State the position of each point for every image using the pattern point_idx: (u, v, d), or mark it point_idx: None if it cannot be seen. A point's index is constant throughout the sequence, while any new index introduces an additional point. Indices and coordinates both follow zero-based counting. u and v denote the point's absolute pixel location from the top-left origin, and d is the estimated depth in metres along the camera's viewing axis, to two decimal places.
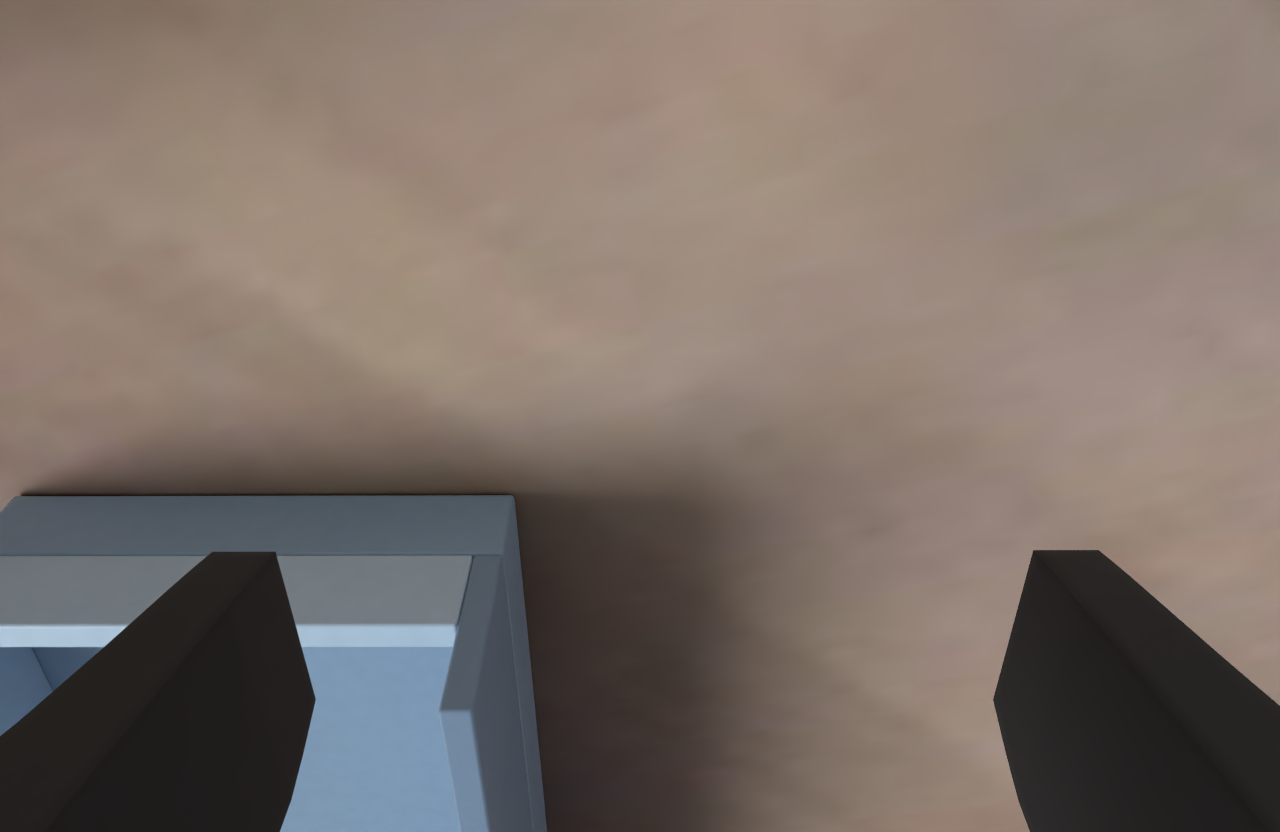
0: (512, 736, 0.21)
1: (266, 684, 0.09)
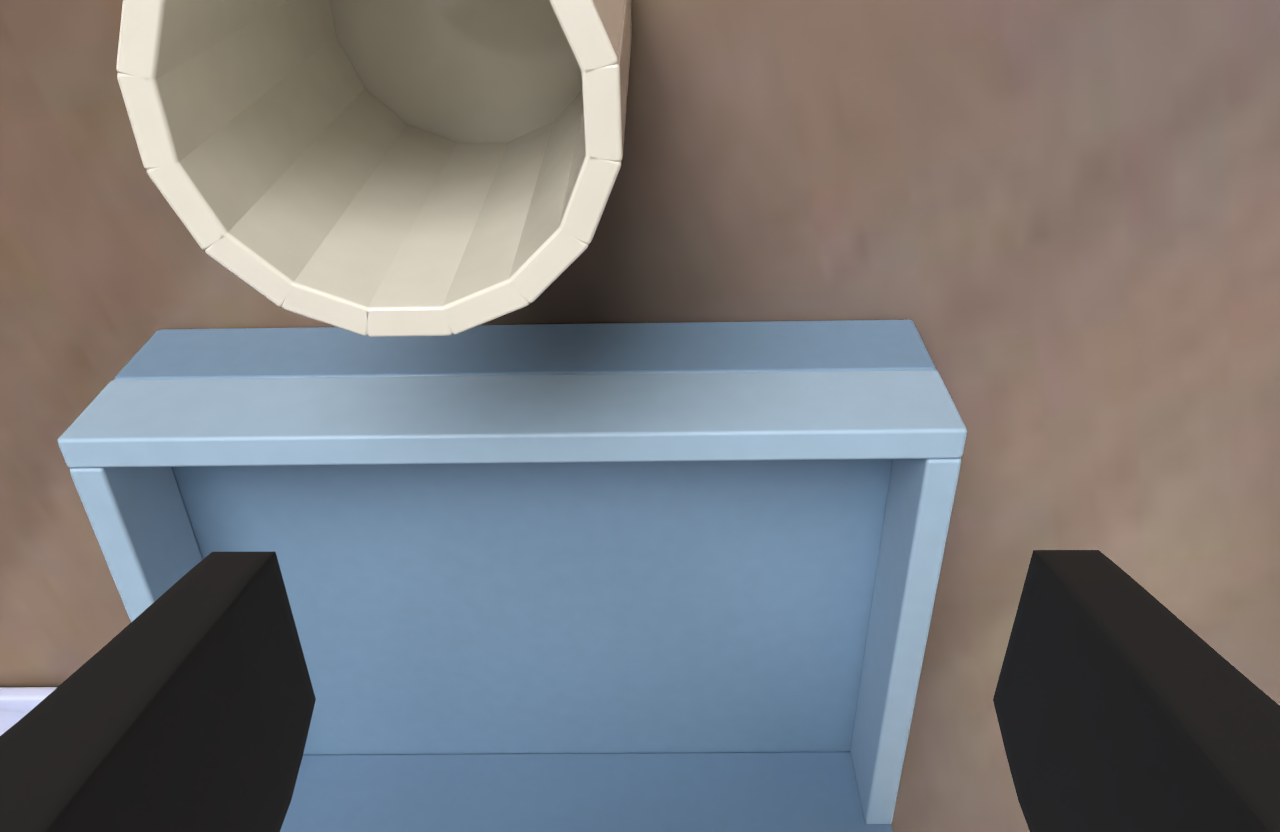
0: None
1: (266, 684, 0.09)
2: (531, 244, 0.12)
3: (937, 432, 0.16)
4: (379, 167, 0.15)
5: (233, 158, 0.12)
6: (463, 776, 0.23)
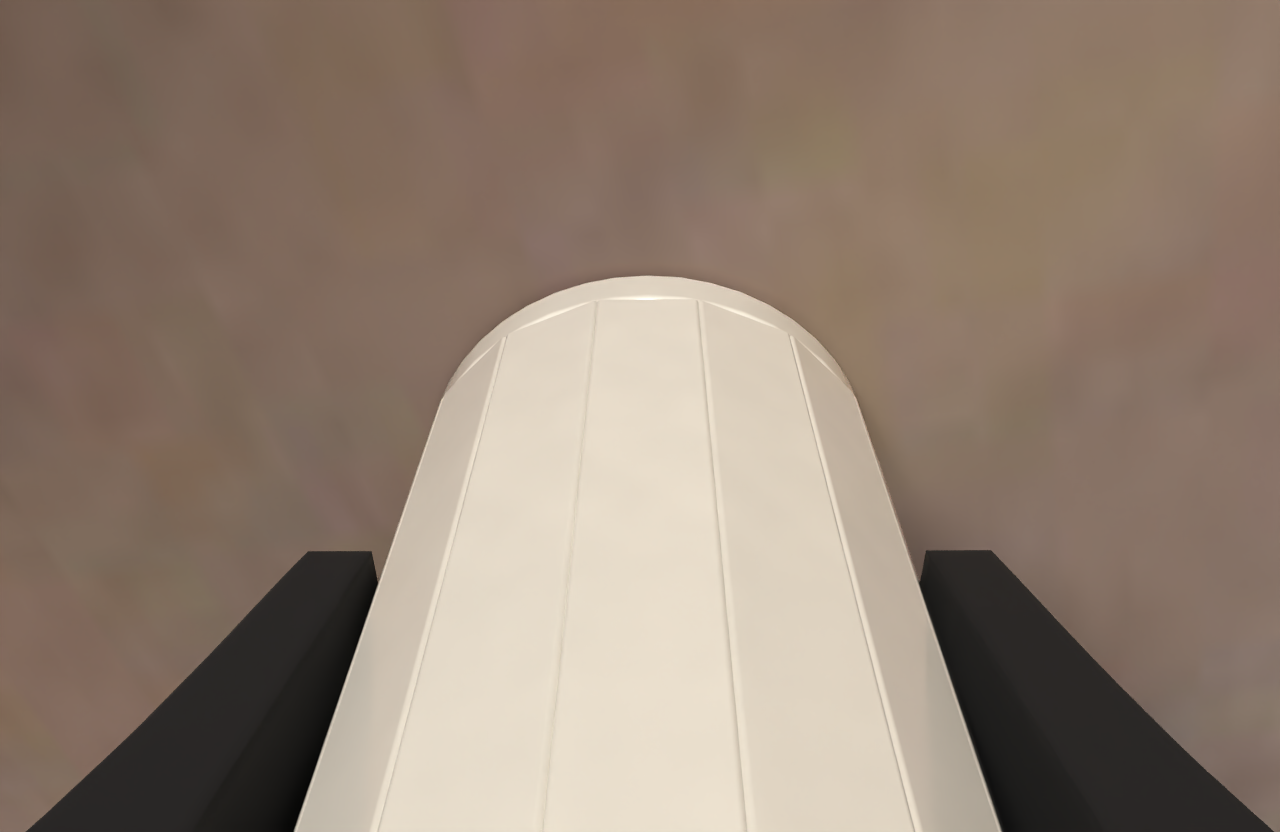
0: None
1: None
2: None
3: None
4: None
5: None
6: None
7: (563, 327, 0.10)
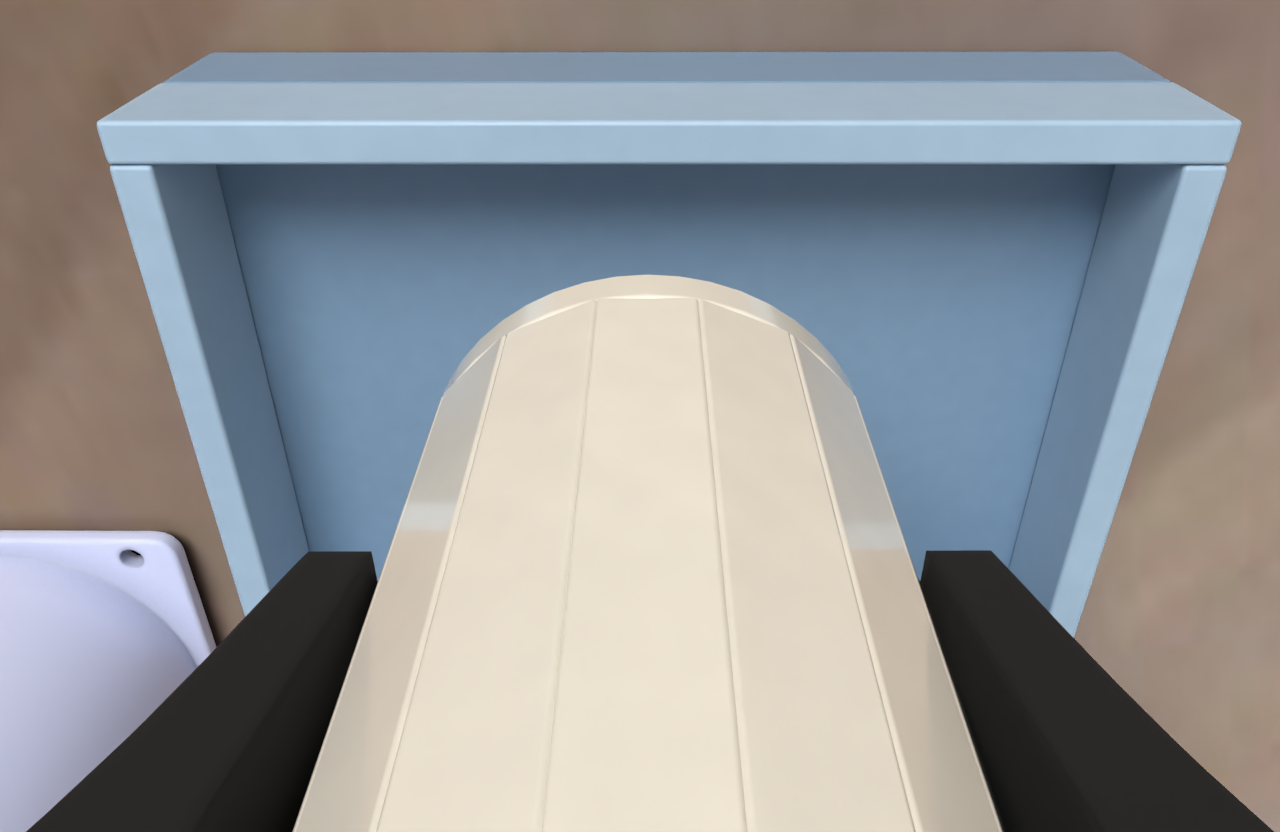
0: None
1: None
2: None
3: (1203, 126, 0.13)
4: None
5: None
6: None
7: (563, 326, 0.10)
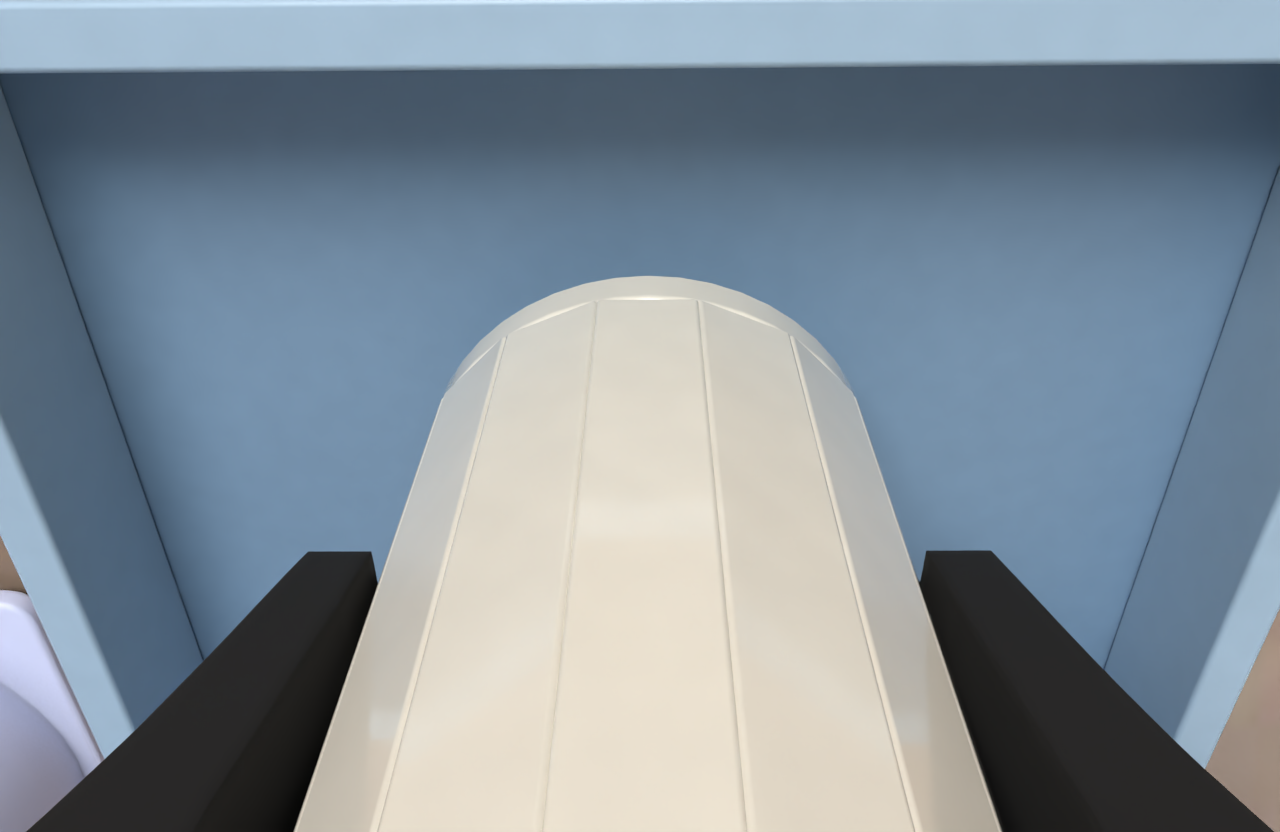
0: None
1: None
2: None
3: None
4: None
5: None
6: None
7: (563, 327, 0.10)
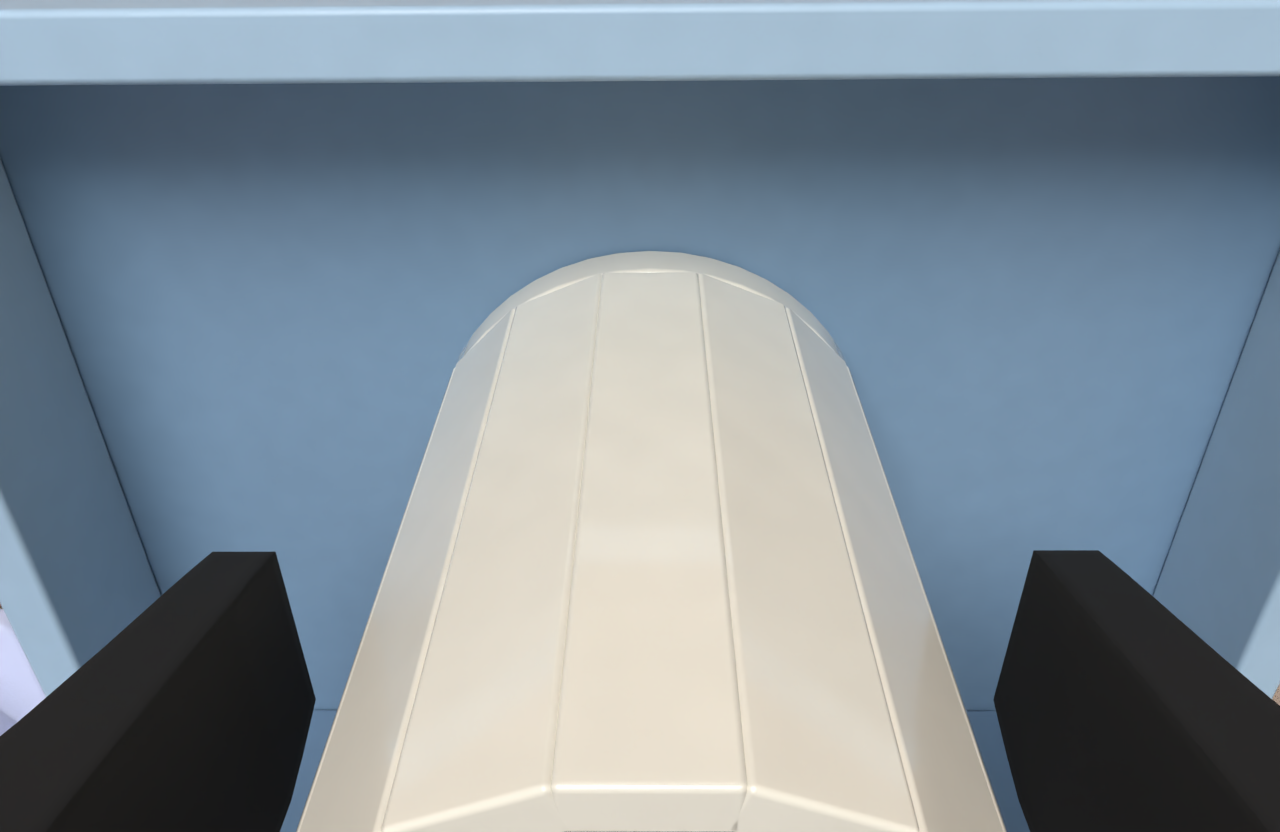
0: None
1: (266, 684, 0.09)
2: None
3: None
4: None
5: None
6: None
7: (570, 298, 0.10)
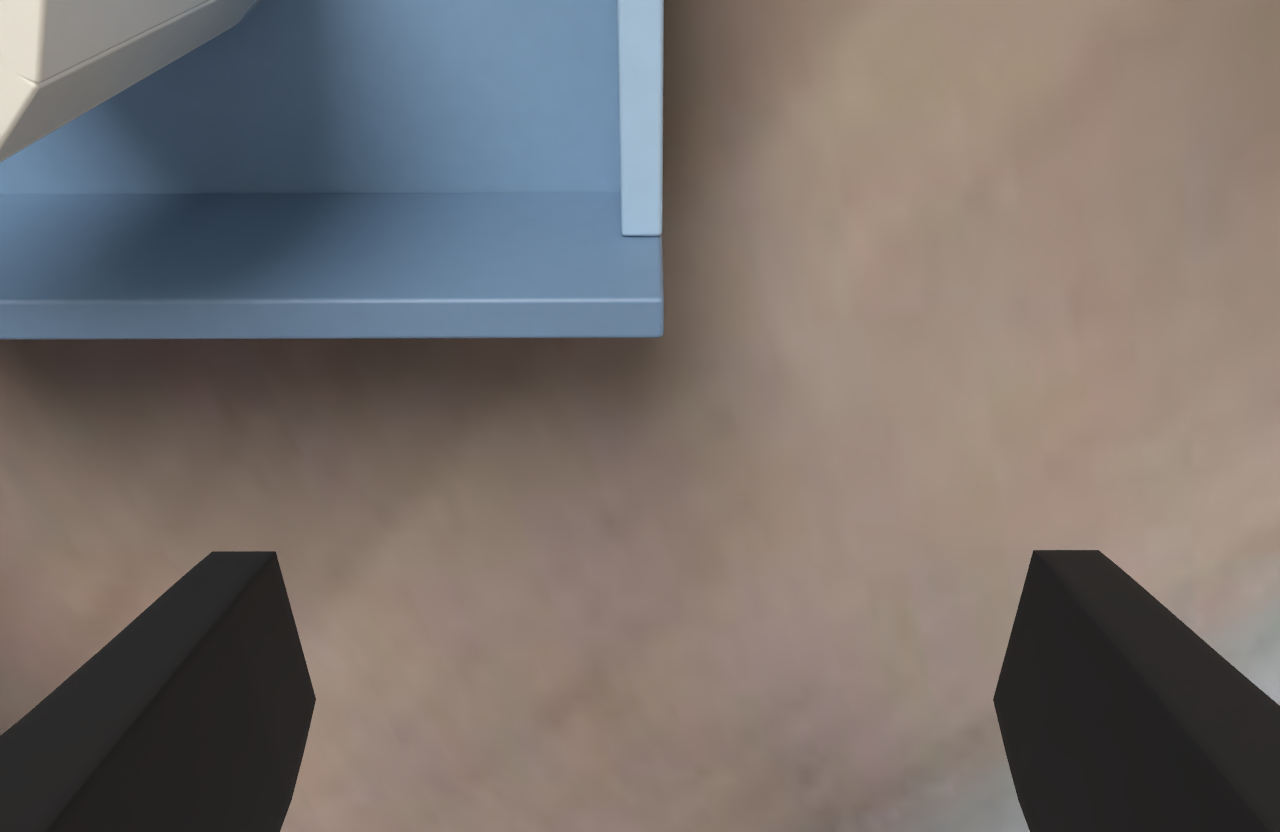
0: None
1: (266, 684, 0.09)
2: None
3: None
4: None
5: None
6: (48, 207, 0.16)
7: None
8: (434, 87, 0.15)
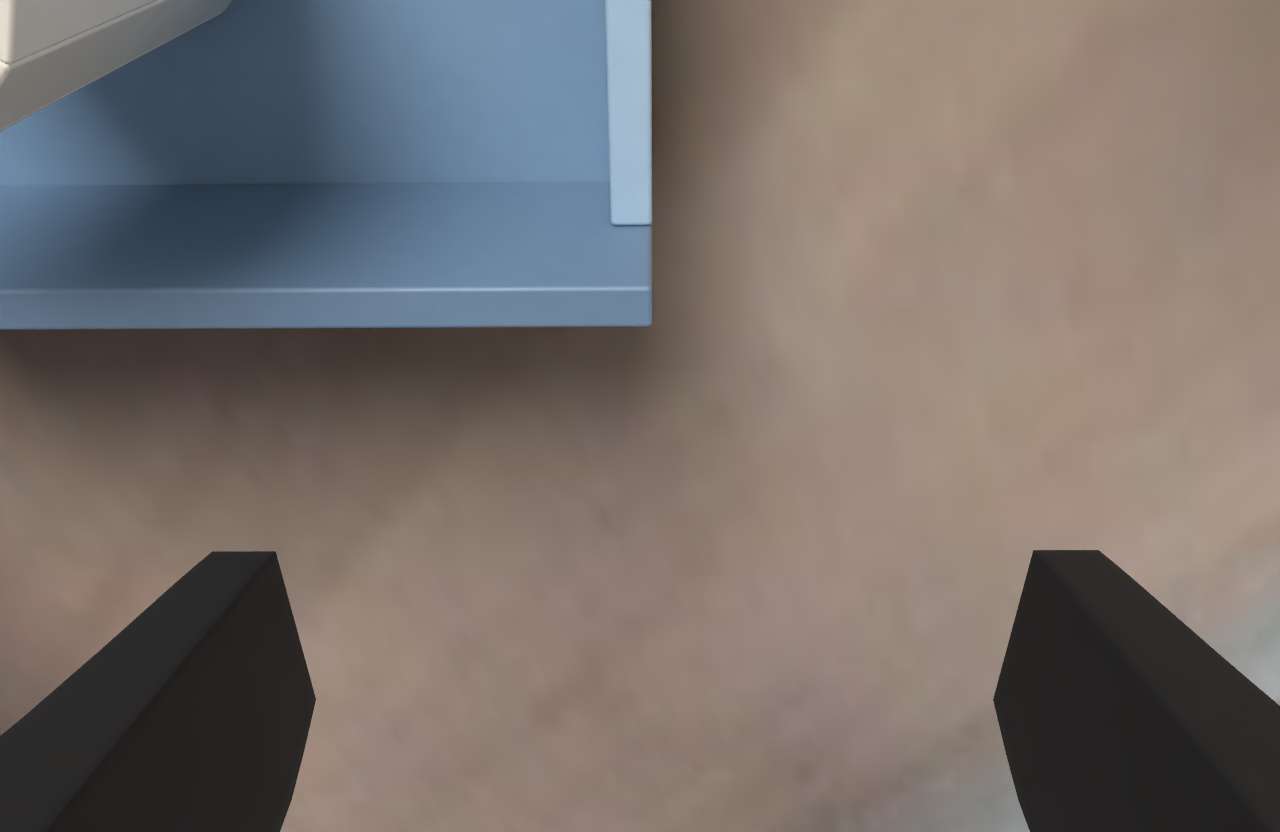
0: None
1: (266, 684, 0.09)
2: None
3: None
4: None
5: None
6: (35, 198, 0.15)
7: None
8: (422, 76, 0.15)
